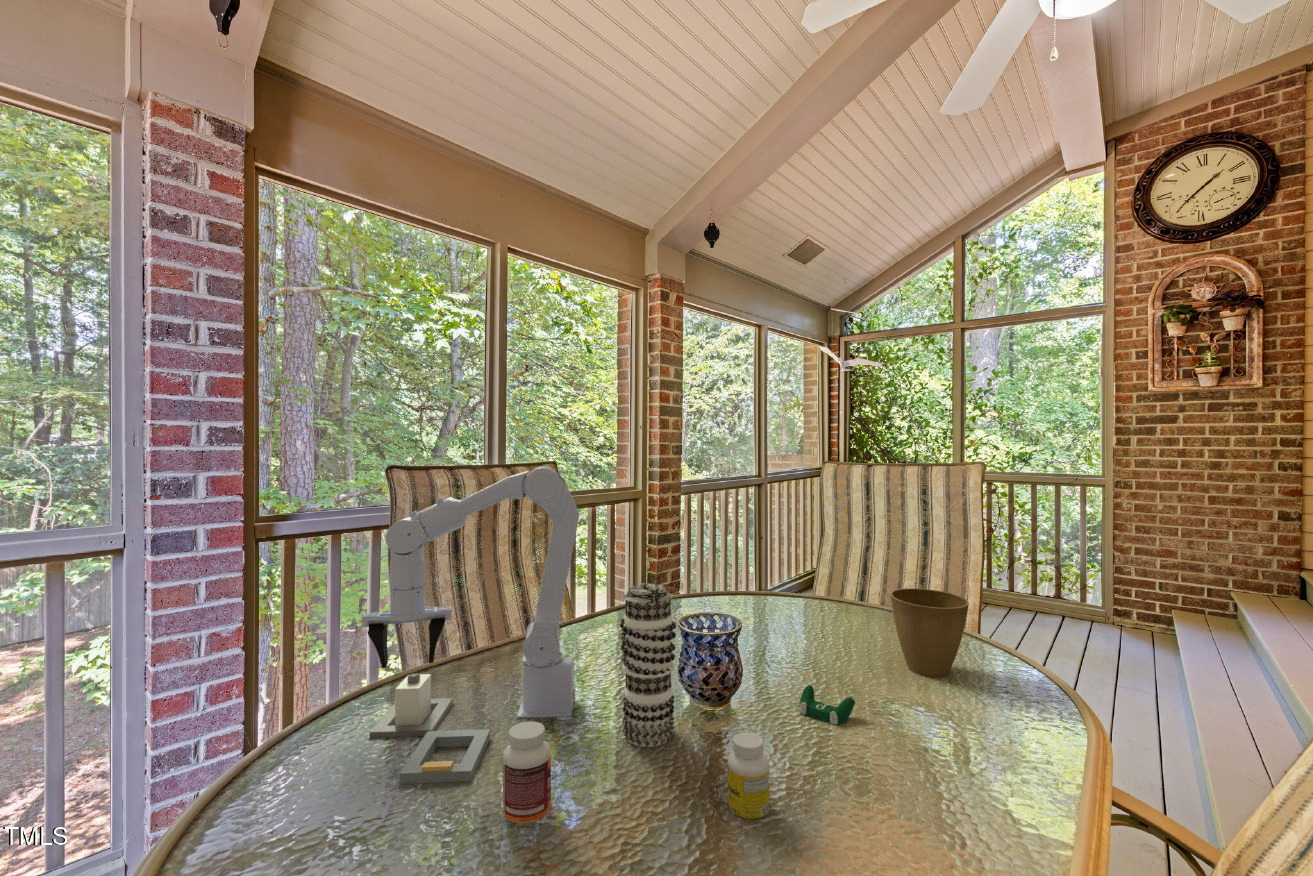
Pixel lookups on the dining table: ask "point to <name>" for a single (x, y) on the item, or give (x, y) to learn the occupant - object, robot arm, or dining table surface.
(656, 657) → the decorative candle
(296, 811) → the dining table surface
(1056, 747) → the dining table surface
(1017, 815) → the dining table surface
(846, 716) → the gaming controller
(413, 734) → the square frame plate
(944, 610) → the plant pot
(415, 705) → the plug
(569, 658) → the robot arm
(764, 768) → the supplement bottle
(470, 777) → the port
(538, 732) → the pill bottle
